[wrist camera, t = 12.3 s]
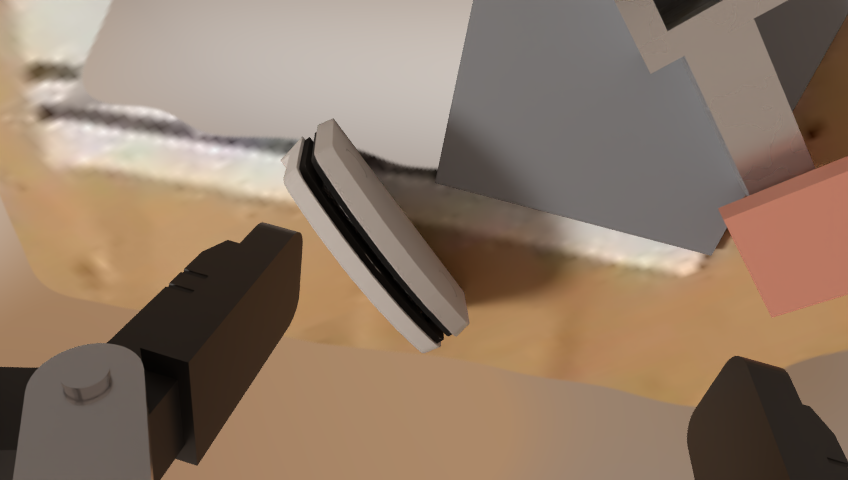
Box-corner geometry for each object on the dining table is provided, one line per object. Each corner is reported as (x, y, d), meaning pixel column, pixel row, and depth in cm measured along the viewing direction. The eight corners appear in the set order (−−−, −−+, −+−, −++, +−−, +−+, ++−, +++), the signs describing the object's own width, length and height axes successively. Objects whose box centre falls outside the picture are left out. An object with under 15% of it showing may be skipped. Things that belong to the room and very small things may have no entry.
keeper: (691, 153, 34) (723, 219, 27) (801, 103, 31) (868, 162, 24) (735, 241, 36) (775, 324, 29) (841, 202, 33) (913, 283, 26)
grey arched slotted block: (280, 151, 40) (248, 186, 31) (333, 112, 39) (316, 136, 30) (415, 317, 45) (422, 391, 36) (463, 286, 45) (483, 352, 35)
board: (510, -169, 28) (509, -171, 27) (898, -91, 26) (906, -91, 25) (437, 177, 38) (435, 182, 38) (708, 249, 37) (711, 255, 36)
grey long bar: (587, -56, 29) (590, -48, 25) (711, -140, 26) (739, -148, 22) (710, 194, 34) (730, 235, 30) (825, 146, 31) (865, 184, 27)
